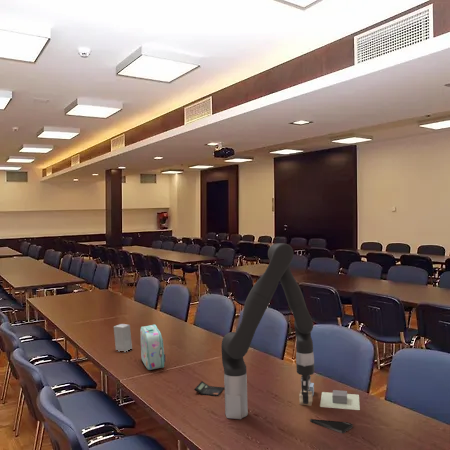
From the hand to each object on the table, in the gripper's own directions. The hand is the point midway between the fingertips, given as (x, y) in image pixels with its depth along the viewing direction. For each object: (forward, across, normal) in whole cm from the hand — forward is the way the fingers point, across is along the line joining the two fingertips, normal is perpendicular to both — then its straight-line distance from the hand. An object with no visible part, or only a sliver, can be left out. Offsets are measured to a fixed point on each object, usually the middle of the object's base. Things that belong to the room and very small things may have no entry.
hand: (306, 399), depth 196 cm
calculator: (+2, -6, -45) cm, 46 cm away
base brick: (+2, -4, +14) cm, 15 cm away
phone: (+3, +16, +11) cm, 20 cm away
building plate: (+2, -4, +14) cm, 15 cm away
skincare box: (+1, -57, -116) cm, 129 cm away
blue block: (+2, -10, 0) cm, 10 cm away
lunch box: (+2, -36, -87) cm, 94 cm away
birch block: (+2, 0, 0) cm, 2 cm away
